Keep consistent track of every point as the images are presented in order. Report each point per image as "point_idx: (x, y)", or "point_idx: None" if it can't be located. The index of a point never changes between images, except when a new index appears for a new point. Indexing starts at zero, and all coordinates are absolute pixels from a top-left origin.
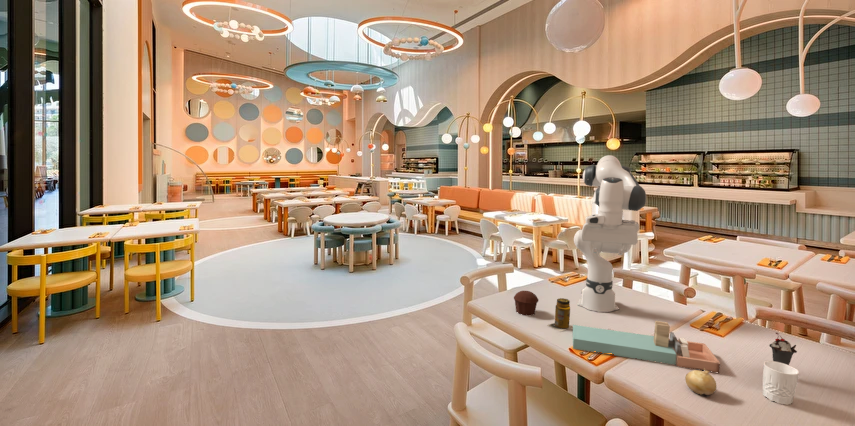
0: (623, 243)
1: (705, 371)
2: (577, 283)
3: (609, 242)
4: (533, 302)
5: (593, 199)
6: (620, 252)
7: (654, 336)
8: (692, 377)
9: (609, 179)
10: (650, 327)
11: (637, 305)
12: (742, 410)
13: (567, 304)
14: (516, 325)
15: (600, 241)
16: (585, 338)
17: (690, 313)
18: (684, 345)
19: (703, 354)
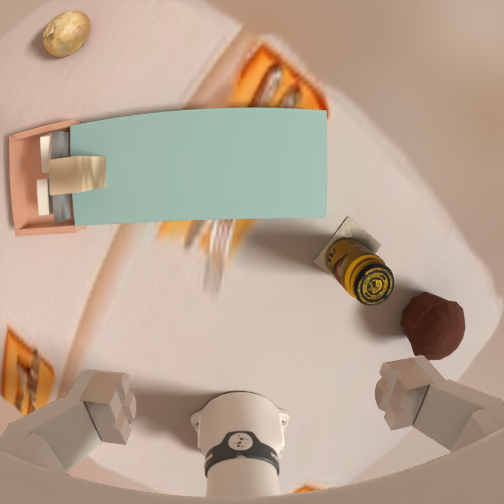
0: (8, 456)
1: (48, 31)
2: None
3: (259, 500)
4: (428, 311)
5: None
6: (100, 387)
7: (99, 179)
8: (77, 15)
9: None
10: (117, 337)
11: (153, 445)
12: (40, 20)
13: (361, 268)
14: (444, 217)
15: (439, 466)
16: (293, 122)
17: None
18: (44, 152)
19: (27, 210)
